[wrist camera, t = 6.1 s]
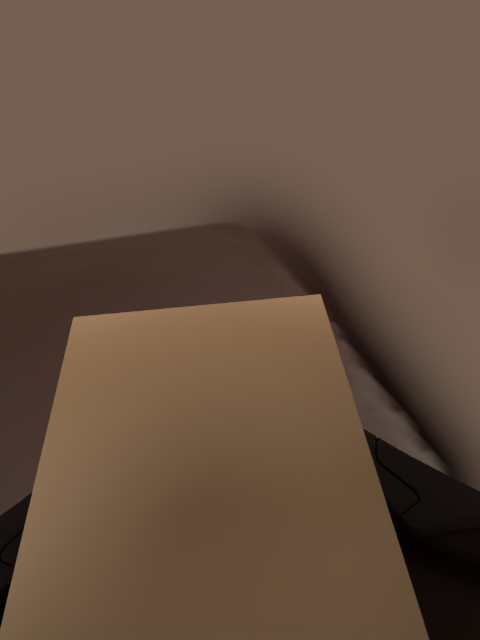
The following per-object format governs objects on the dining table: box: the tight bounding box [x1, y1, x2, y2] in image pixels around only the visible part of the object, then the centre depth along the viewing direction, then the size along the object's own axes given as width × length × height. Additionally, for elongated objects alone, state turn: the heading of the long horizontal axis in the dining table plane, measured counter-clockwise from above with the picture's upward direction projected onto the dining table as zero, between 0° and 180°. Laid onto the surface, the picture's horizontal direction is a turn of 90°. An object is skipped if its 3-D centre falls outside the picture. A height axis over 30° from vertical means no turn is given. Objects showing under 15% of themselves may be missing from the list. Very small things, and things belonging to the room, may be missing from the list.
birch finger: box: [0, 294, 429, 640], centre depth 8 cm, size 4×4×12 cm
